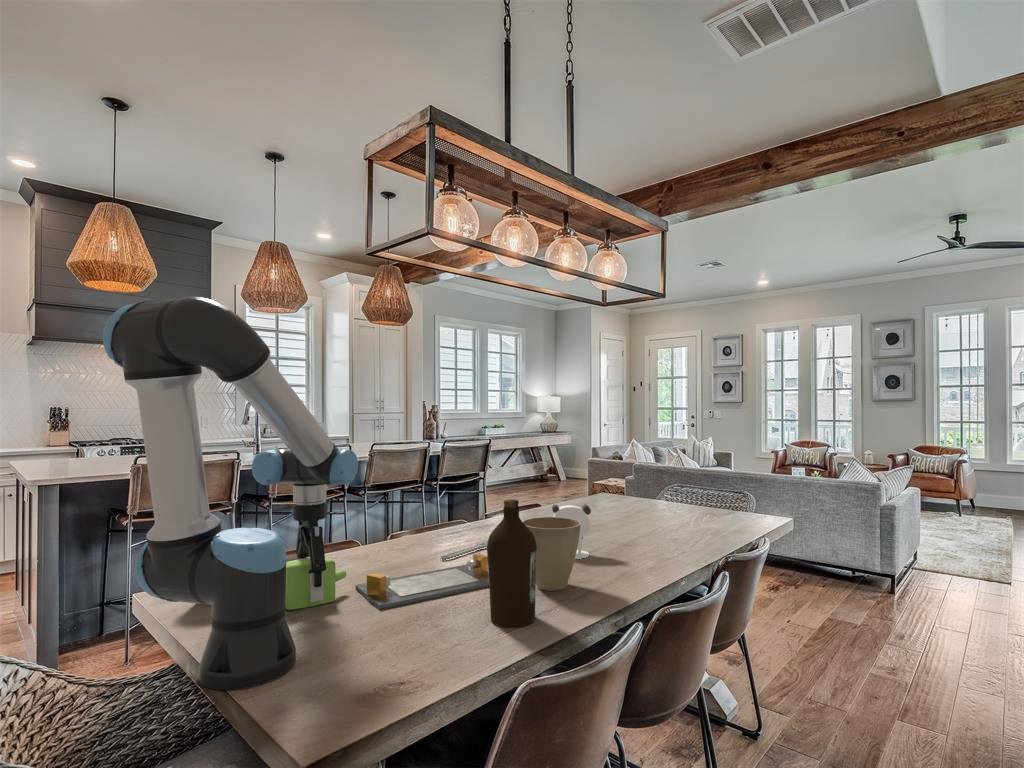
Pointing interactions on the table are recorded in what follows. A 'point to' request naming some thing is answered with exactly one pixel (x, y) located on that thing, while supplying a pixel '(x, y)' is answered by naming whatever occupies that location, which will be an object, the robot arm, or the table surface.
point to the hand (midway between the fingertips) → (309, 592)
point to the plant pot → (554, 550)
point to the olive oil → (512, 570)
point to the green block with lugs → (301, 583)
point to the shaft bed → (425, 584)
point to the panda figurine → (580, 516)
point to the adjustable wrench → (465, 550)
